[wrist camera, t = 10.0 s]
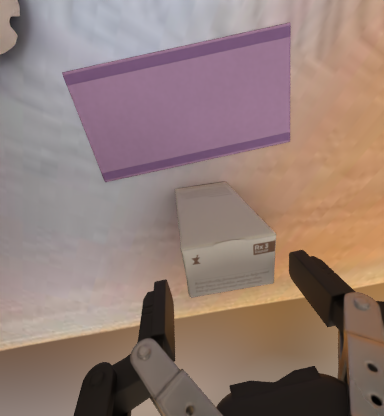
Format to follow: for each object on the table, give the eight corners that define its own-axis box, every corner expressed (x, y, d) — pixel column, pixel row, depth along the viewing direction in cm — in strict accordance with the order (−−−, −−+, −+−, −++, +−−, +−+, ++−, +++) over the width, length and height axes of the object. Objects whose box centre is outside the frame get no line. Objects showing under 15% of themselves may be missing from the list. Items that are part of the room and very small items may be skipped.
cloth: (105, 181, 22) (105, 182, 22) (63, 73, 18) (61, 72, 18) (288, 141, 22) (290, 141, 22) (288, 23, 18) (290, 22, 18)
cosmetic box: (179, 220, 25) (186, 305, 14) (173, 185, 23) (175, 250, 12) (230, 213, 25) (275, 289, 14) (228, 177, 23) (279, 233, 12)
